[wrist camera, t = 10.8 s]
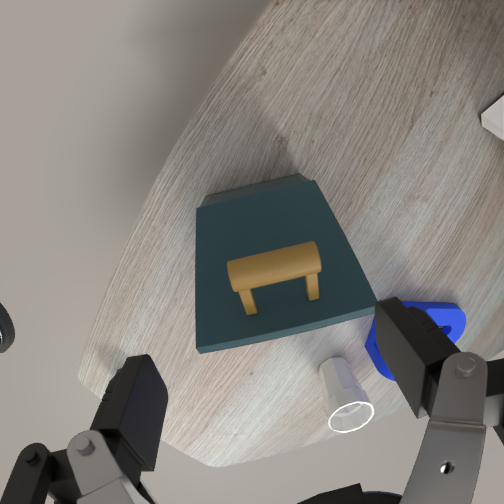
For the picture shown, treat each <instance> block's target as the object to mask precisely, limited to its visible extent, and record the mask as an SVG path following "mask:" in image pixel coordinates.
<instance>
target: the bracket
mask: <svg viewBox="0 0 504 504" xmlns="http://www.w3.org/2000/svg"><path fill="white" fill-rule="evenodd" d="M380 301H381V300H380ZM401 302H402V303H403V304H404V305H405V307H406V308H407V307H410V306H414V307H416V308H419V309H421V310H423V311H425V312H426V313H427V315H428V316H429V317H430V318H431V319H432V321H434V322H435V323H436V324H437V325H438V326H444V327H443V328H442V329H441V330H442V331H443V332H444V333H445V334H446V335H447V336H448V337H449V339H450V340H451V341H452V342H453V343H455V342H456V341H457V340H458V339H459V338H460V336H461V335H462V333H463V331H464V328H465V325H466V316H465V314H464V312H463V311H462V310H461V309H460V308H458V307H457V306H456V305H455V304H453V303H435V302H405V301H401ZM365 348H366V350H367V351H368V353H369V355H370V357H371V359H372V361H373V363H374V365H375V367H376V368H377V370H378V371H379V372H380V373H381V374H382V375H383V376H385V377H386V378H388V379H390V380H393V381H396V380H395V379H394V377H393V375H392V374H391V372H390V370H389V368H388V367H387V365H386V363H385V362H384V360H383V358H382V356H381V355H380V353H379V350H378V347H377V342H376V328H375V317H374V320H373V324H372V327H371V330H370V333H369V336H368V339H367V342H366V345H365Z"/></svg>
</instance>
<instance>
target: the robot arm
mask: <svg viewBox="0 0 504 504" xmlns="http://www.w3.org/2000/svg"><path fill="white" fill-rule="evenodd" d="M374 308H375V328H376V342H377V347H378V350H379V353H380V355H381V356H382V358H383V360H384V362H385V363H386V365H387V367H388V368H389V370H390V372H391V374H392V375H393V377H394V379H395V380H396V382H397V384H398V386H399V387H400V389H401V391H402V393H403V394H404V396H405V398H406V400H407V402H408V403H409V405H410V407H411V409H412V410H413V412H414V414H415V416H416V418H417V419H418V418H421V417H424V416H426V415H428V416H429V417H430V419H429V421H428V425H427V428H426V431H425V435H424V438H423V441H422V444H421V447H420V450H419V453H418V456H417V459H416V462H415V465H414V468H413V470H412V473H411V476H410V478H409V481H408V483H407V486H406V488H405V491H404V494H403V496H402V495H399V494H395V493H390V492H380V491H367V492H362V488H361V485H360V483H358V484H355V485H351V486H348V487H344V488H340V489H337V490H333V491H329V492H325V493H321V494H318V495H316V496H313V497H311V498H309V499H307V500H304V501H302V502H300V503H297V504H471V502H472V498H473V495H474V491H475V486H476V483H477V478H478V474H479V469H480V464H481V459H482V453H483V448H484V442H485V435H486V428H488V427H493V428H494V430H495V431H496V433H497V435H498V436H499V438H500V440H501V441H502V443H503V445H504V358H503V359H498V360H493V361H486V362H485V360H484V359H483V358H482V357H481V356H479V355H477V354H475V353H471V352H461V351H460V350H459V349H458V348H457V346H456V345H455V344H454V343H453V342H452V341H451V340H450V339H449V337H448V336H447V335H446V334H445V333H444V332H443V331H442V330H441V329H440V328H439V327H438V325H437V324H436V323H435V322H434V321H432V319H431V318H430V317H429V316H428V315H427V313H426V312H425V311H423V310H421V309H419V308H416V307H414V306H410V307H407V308H406V307H405V305H404V304H403V303H402V302H401V301H400V300H399V299H398V298H397V297H392V298H388V299H385V300H382V301H379V302H376V303H375V307H374ZM3 342H4V336H3V331H2V329H1V326H0V347H1V346H2V345H3ZM105 392H106V394H104V396H103V398H102V402H101V403H100V405H99V408H98V410H97V412H96V415H95V417H94V420H93V422H92V425H91V427H90V430H87V431H83V432H81V433H79V434H77V435H76V436H75V437H74V438H72V440H71V441H70V442H69V444H68V447H67V449H64V450H60V451H55V452H50V451H49V450H48V449H47V448H46V447H45V445H43V444H41V443H33V444H30V445H28V446H27V447H26V448H24V449H23V450H22V451H21V453H20V454H19V456H18V459H17V461H16V463H15V466H14V468H13V470H12V473H11V475H10V478H9V480H8V483H7V485H6V488H5V490H4V493H3V496H2V498H1V501H0V504H45V500H46V497H47V494H48V495H49V496H50V497H51V498H53V499H54V500H55V501H54V504H158V503H157V501H156V500H155V498H154V497H153V496H152V494H151V493H150V491H149V490H148V488H147V487H146V485H145V484H144V482H143V481H142V480H141V479H140V476H141V471H154V468H155V463H156V458H157V452H158V447H159V442H160V437H161V432H162V427H163V422H164V418H165V413H166V408H167V403H168V392H167V388H166V385H165V383H164V381H163V380H162V378H161V376H160V374H159V372H158V370H157V368H156V366H155V364H154V362H153V360H152V359H151V357H150V356H149V355H148V354H145V355H138V356H132V357H128V358H127V359H126V361H125V364H124V366H123V368H122V371H121V372H118V373H117V374H116V375H115V376H114V377H113V378H112V379H111V381H110V382H109V384H108V386H107V389H106V391H105Z"/></svg>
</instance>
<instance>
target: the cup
mask: <svg viewBox="0 0 504 504" xmlns="http://www.w3.org/2000/svg"><path fill="white" fill-rule="evenodd" d="M318 376H319V380H320V384H321V389H322V393H323V398H324V403H325V412H326V417H327V422H328V426H329V427H330V429H331V430H333V431H336V432H349V431H353V430H356V429H358V428H360V427H362V426H364V425H365V424H366V423H367V422H369V420H370V419H371V418H372V416H373V414H374V409H373V406H372V404H371V402H370V400H369V398H368V396H367V394H366V393H365V391H364V390H362V388H361V386H360V384H359V382H358V380H357V378H356V376H355V375H354V373H353V371H352V369H351V367H350V365H349V363H348V362H347V361H346V360H345V359H344V358H343V357H330V358H329V359H328V360H326V361H325V362H323V363H322V364H320V368H319V372H318Z"/></svg>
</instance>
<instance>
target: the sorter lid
mask: <svg viewBox="0 0 504 504" xmlns="http://www.w3.org/2000/svg"><path fill="white" fill-rule="evenodd" d="M376 302H378V301H377V299H376V297H375V295H374V293H373V291H372V289H371V286H370V284H369V282H368V280H367V278H366V276H365V274H364V272H363V270H362V268H361V266H360V264H359V262H358V260H357V258H356V256H355V254H354V252H353V250H352V248H351V246H350V244H349V242H348V240H347V238H346V236H345V234H344V233H343V231H342V229H341V227H340V225H339V223H338V221H337V219H336V218H335V216H334V214H333V212H332V210H331V208H330V206H329V205H328V203H327V201H326V199H325V197H324V196H323V194H322V192H321V190H320V189H319V187H318V185H317V183H316V182H315V180H312V181H307V182H303V183H298V184H293V185H289V186H285V187H280V188H276V189H272V190H267V191H263V192H259V193H255V194H250V195H246V196H242V197H238V198H234V199H230V200H226V201H222V202H218V203H214V204H211V205H207V206H203V207H199V208H197V210H196V257H195V319H196V349H197V350H198V352H199V353H200V354H203V353H208V352H214V351H219V350H224V349H229V348H234V347H239V346H244V345H249V344H254V343H259V342H263V341H268V340H272V339H277V338H281V337H285V336H290V335H294V334H298V333H302V332H306V331H310V330H314V329H318V328H322V327H326V326H330V325H333V324H337V323H341V322H345V321H348V320H352V319H355V318H359V317H362V316H366V315H369V314H373V313H375V308H374V307H375V303H376Z"/></svg>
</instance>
